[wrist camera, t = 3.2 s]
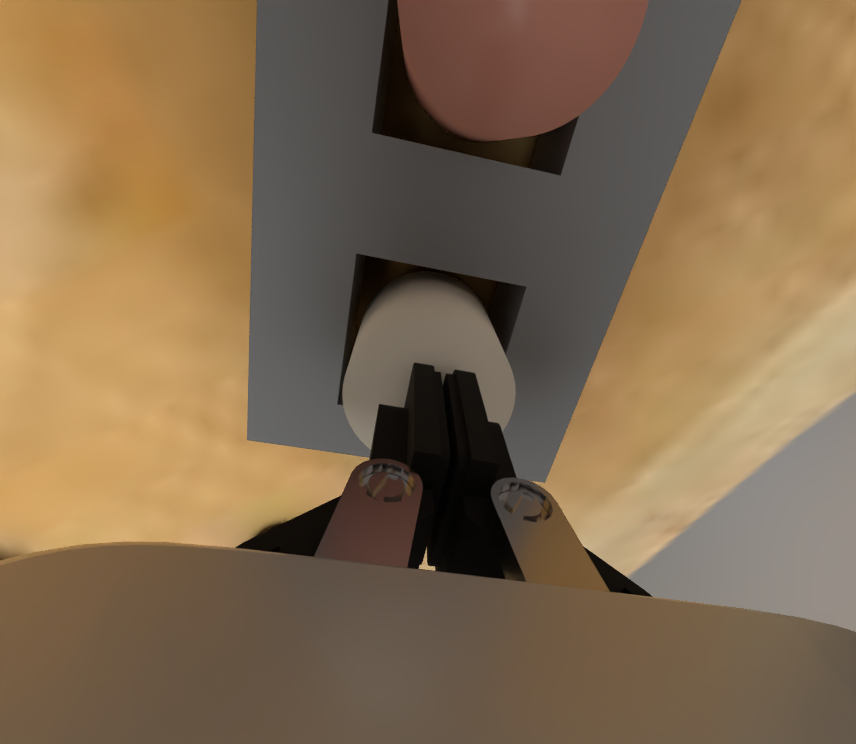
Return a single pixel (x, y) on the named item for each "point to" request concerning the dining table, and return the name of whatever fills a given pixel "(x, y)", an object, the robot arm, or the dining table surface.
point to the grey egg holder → (448, 213)
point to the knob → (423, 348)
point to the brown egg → (513, 60)
